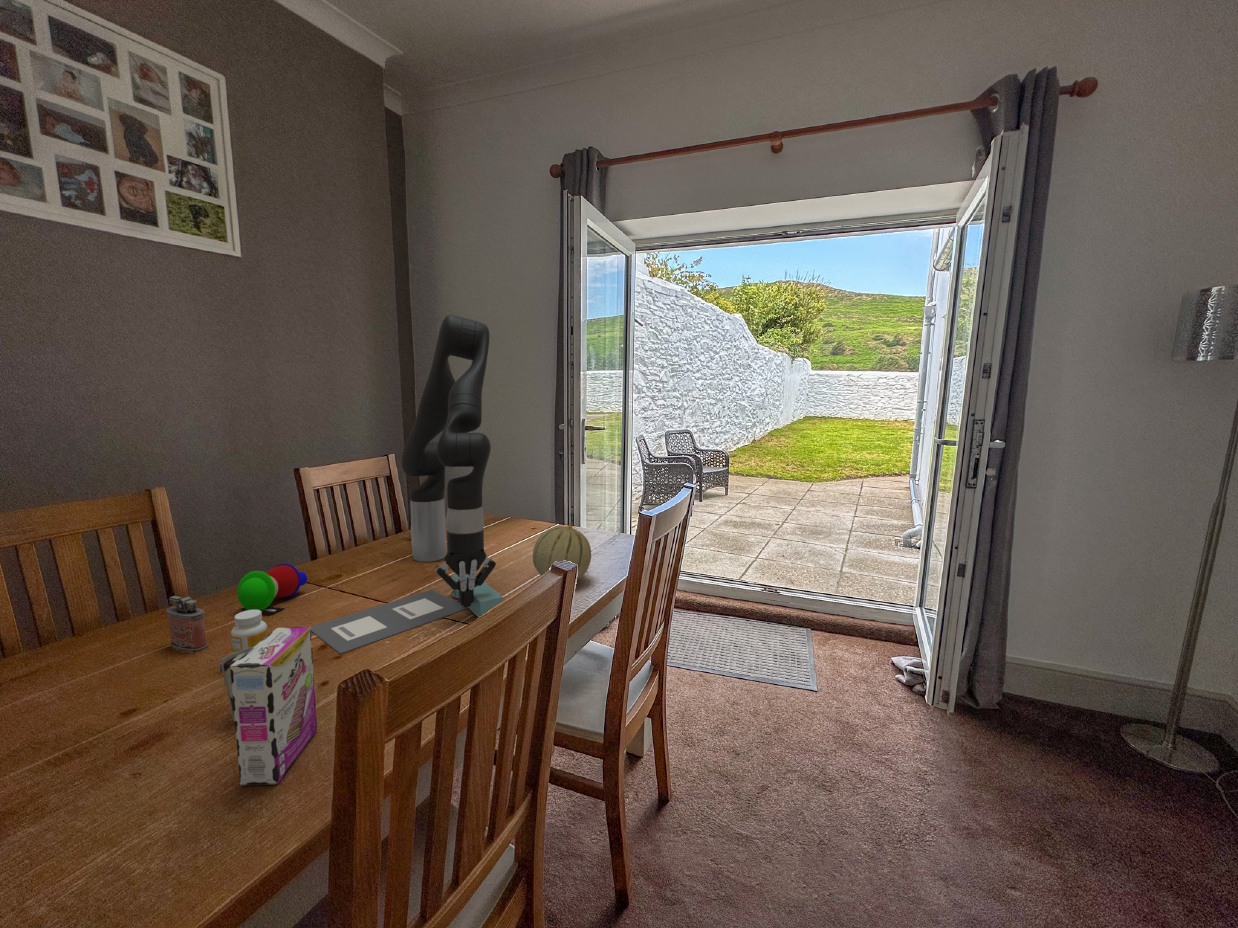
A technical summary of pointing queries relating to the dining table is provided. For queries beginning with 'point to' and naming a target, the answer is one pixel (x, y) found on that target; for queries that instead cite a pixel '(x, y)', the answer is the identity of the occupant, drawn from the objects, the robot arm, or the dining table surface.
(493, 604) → the block
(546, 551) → the cantaloupe
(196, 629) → the lighter
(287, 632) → the candy bar box
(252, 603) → the toy figure
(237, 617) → the supplement bottle
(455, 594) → the pivot base
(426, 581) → the dining table surface
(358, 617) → the label panel
